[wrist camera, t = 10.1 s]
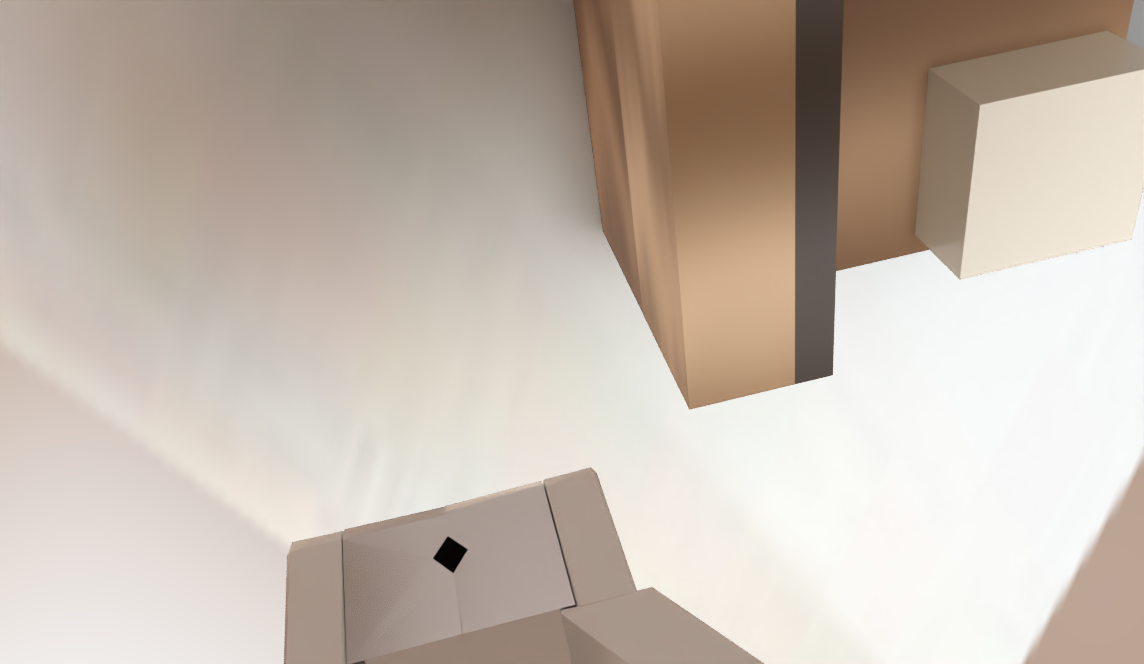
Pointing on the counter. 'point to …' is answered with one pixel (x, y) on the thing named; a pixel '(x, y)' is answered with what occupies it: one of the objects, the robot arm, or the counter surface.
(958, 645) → the counter surface
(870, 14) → the board
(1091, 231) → the tile
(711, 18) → the tan wooden bar
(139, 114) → the counter surface
